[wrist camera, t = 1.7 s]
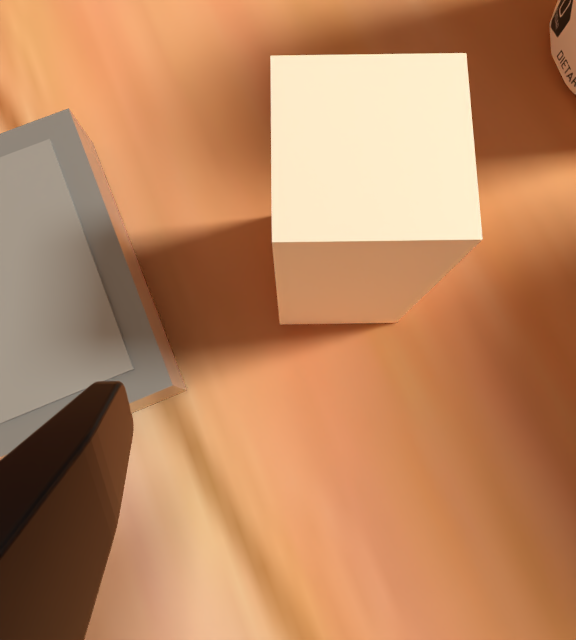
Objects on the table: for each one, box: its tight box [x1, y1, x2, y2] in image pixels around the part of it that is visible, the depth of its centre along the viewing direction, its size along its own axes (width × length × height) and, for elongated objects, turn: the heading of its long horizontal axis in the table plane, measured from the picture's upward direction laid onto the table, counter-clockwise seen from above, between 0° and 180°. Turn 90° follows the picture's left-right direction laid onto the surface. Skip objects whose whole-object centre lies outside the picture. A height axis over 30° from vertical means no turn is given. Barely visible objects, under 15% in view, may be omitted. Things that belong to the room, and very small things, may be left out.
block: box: [270, 53, 483, 324], centre depth 17 cm, size 4×4×10 cm
